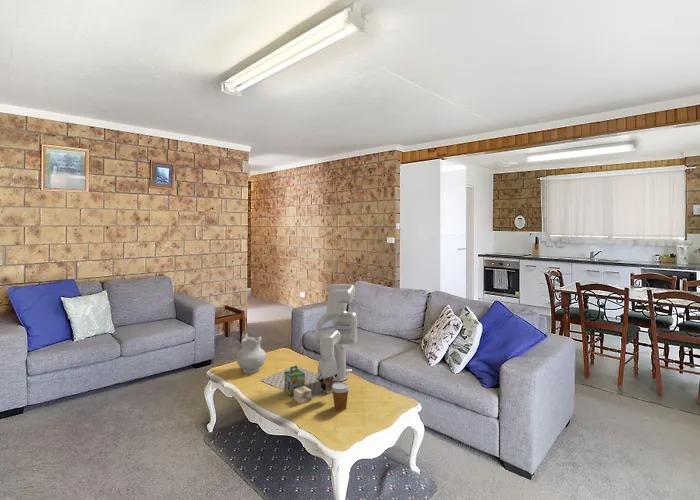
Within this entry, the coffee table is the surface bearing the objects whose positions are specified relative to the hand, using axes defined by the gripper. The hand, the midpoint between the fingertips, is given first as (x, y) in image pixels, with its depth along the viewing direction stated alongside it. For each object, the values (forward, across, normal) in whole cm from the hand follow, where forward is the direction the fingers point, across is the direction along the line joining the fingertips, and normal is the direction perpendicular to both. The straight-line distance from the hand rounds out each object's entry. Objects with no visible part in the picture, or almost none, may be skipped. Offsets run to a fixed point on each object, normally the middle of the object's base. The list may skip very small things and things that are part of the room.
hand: (328, 387), depth 213 cm
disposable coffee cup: (+7, 0, +12) cm, 13 cm away
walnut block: (+1, 0, 0) cm, 1 cm away
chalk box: (+8, +9, -21) cm, 24 cm away
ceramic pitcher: (+9, +15, -70) cm, 72 cm away
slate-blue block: (+8, -7, -9) cm, 14 cm away
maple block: (+7, +11, -9) cm, 16 cm away
